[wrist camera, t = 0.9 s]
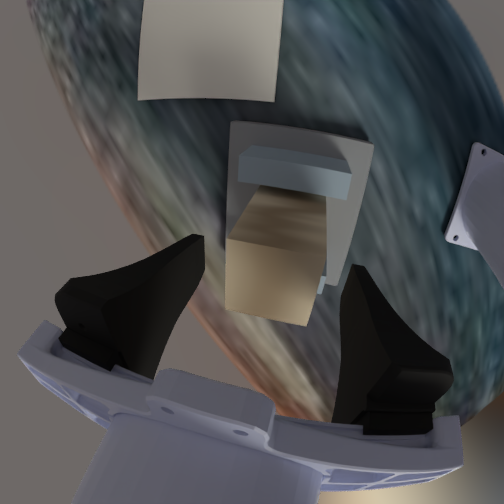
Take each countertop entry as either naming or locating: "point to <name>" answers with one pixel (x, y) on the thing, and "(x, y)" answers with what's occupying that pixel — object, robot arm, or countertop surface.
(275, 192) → the peg
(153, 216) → the countertop surface
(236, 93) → the mat
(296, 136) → the vise
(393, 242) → the countertop surface
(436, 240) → the countertop surface
